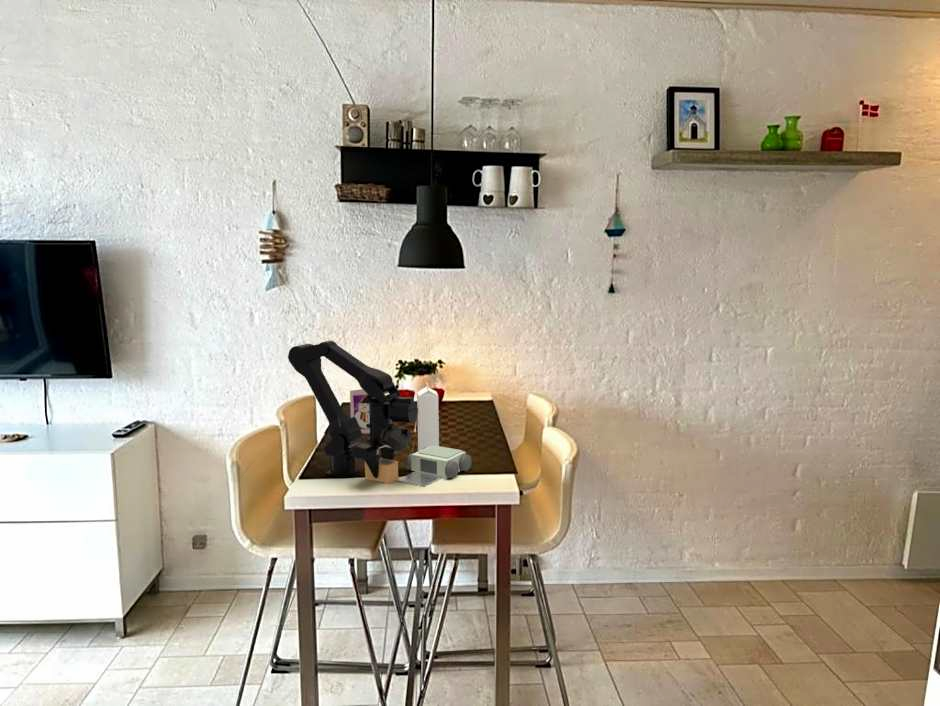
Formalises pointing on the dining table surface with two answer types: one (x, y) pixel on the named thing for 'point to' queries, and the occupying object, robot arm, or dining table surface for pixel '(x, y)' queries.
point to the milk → (427, 418)
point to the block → (384, 471)
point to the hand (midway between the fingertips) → (381, 475)
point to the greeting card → (360, 409)
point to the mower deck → (439, 461)
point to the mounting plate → (419, 478)
